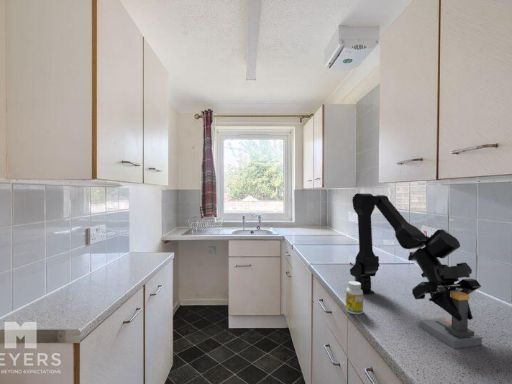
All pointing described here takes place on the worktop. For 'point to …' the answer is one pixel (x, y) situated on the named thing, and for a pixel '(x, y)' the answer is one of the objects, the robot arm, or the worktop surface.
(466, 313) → the breaker handle
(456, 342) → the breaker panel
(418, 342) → the worktop surface
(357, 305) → the supplement bottle
